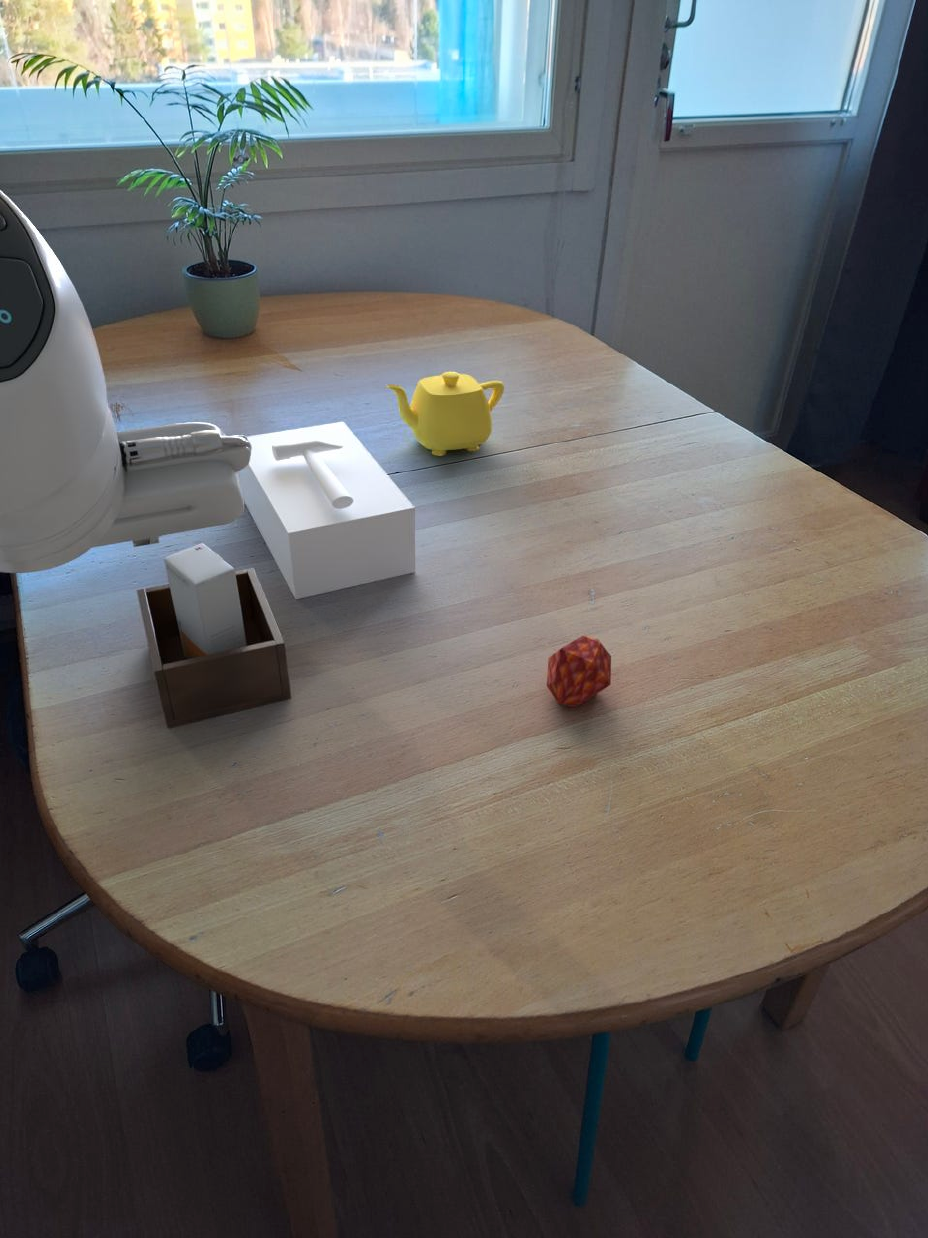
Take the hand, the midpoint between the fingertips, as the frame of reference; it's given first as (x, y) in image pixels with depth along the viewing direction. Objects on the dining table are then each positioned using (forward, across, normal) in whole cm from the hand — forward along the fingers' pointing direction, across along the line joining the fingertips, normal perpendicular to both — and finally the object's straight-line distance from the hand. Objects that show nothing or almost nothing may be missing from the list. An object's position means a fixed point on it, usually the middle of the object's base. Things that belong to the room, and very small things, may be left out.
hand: (59, 547), depth 51 cm
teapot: (+66, -50, -24) cm, 86 cm away
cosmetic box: (+36, -9, +4) cm, 38 cm away
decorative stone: (+25, -41, +16) cm, 51 cm away
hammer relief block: (+52, -26, -10) cm, 59 cm away
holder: (+36, -9, +5) cm, 38 cm away
